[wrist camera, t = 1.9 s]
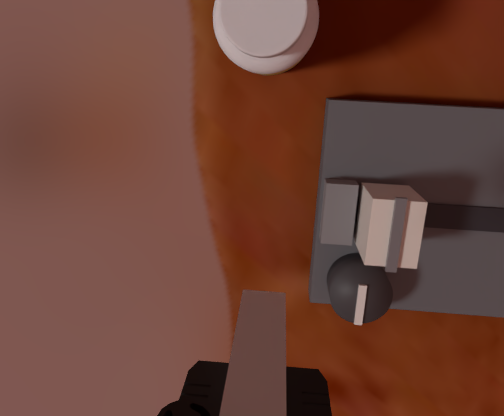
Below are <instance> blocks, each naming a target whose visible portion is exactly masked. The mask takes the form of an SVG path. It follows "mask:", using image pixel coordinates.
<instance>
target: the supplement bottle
mask: <svg viewBox="0 0 504 416" xmlns="http://www.w3.org/2000/svg"><path fill="white" fill-rule="evenodd" d="M318 25H319V7H318V2H317V0H215V4H214V9H213V26H214V31H215V35H216V38H217V40H218V43H219V45H220V47H221V48H222V50H223V51H224V53H225V54H226V55H227V56H228V58H229V59H230V60H231V61H233V62H234V63H235V64H237V65H238V66H240V67H241V68H243V69H245V70H247V71H250V72H253V73H257V74H261V75H276V74H280V73H283V72H286V71H288V70H290V69H291V68H293V67H294V66H295V65H297V64H298V63H299V62H300V61H301V60H302V58H303V57H304V56H305V55H306V53H307V52H308V50H309V49H310V47H311V45H312V44H313V41H314V39H315V36H316V33H317V30H318Z"/></svg>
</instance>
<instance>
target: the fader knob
mask: <svg viewBox="0 0 504 416" xmlns="http://www.w3.org/2000/svg"><path fill="white" fill-rule="evenodd" d="M427 204H428V202H427V201H426V200H425V199H423V198H422V197H421V196H420V195H419V194H418V193H417V192H416V191H415V190H413V189H412V188H411V187H410V186H409V185H393V184H377V183H361V191H360V199H359V207H358V216H357V224H356V232H355V244H356V246H357V248H358V251H359V253H360V256H361V258H362V261H363V263H364V265H370V266H384V267H385V271H386V272H394V273H396V272H397V267H398V268H411V269H417V264H418V258H419V252H420V246H421V240H422V234H423V228H424V222H425V216H426V210H427Z"/></svg>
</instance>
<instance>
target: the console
mask: <svg viewBox="0 0 504 416" xmlns="http://www.w3.org/2000/svg"><path fill="white" fill-rule="evenodd" d="M361 183H377V184H393V185H409V186H410V187H411V188H412V189H413V190H415V191H416V192H417V193H418V194H419V195H420V196H421V197H422V198H423V199H425V200H426V201H427V202H428V204H427V210H426V216H425V222H424V228H423V234H422V240H421V246H420V252H419V258H418V264H417V269H411V268H398V267H397V272H396V273H394V272H386V271H385V267H384V266H370V265H364V263H363V261H362V258H361V256H360V253H359V251H358V248H357V246H356V244H355V232H356V224H357V216H358V207H359V199H360V191H361ZM308 290H309V299H310V302H313V303H326V304H331V305H332V307H333V309H334V311H335V312H336V313H337V314H338V315H339V316H340V317H341V318H343V319H345V320H347V321H349V322H353V323H354V325H362V323H368V322H372V321H374V320H377V319H378V318H380V317H381V316H383V315H384V314H385V313H386V312H387V310H388V309H389V308H390V309H403V310H415V311H428V312H441V313H454V314H467V315H480V316H493V317H504V108H496V107H477V106H459V105H441V104H423V103H405V102H387V101H369V100H350V99H332V98H326V108H325V118H324V129H323V140H322V150H321V161H320V172H319V182H318V193H317V204H316V215H315V225H314V236H313V247H312V257H311V268H310V279H309V289H308Z"/></svg>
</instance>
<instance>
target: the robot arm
mask: <svg viewBox="0 0 504 416" xmlns="http://www.w3.org/2000/svg"><path fill="white" fill-rule="evenodd" d="M157 416H332V413H331V407H330V399H329V392H328V385H327V381H326V379H325V378H324V377H323V375H322V374H321V372H320V371H319V370H318V369H308V368H296V367H286V309H285V293H280V292H267V291H253V290H243V293H242V298H241V304H240V309H239V314H238V319H237V325H236V330H235V335H234V340H233V346H232V351H231V356H230V361H229V363H221V362H210V361H198V362H197V363H196V364H195V365H194V366H193V367H192V368H191V369H190V370H189V371H188V374H187V377H186V380H185V383H184V386H183V389H182V393H181V396H180V399H179V400H178V401H175V402H172V403H170V404H168V405H167V406H165V407H164V408H162V409H161V411H160V412H159V414H158V415H157Z"/></svg>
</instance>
